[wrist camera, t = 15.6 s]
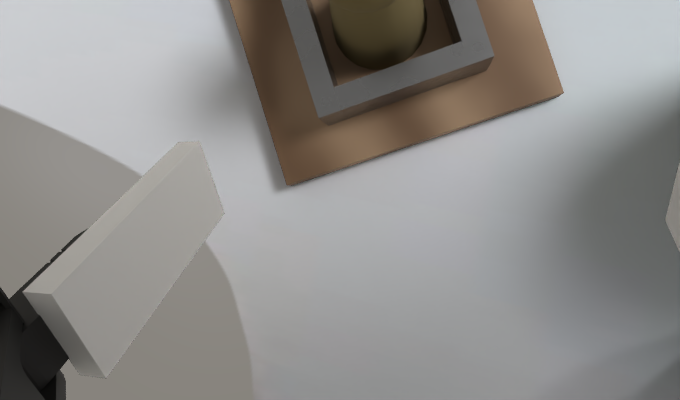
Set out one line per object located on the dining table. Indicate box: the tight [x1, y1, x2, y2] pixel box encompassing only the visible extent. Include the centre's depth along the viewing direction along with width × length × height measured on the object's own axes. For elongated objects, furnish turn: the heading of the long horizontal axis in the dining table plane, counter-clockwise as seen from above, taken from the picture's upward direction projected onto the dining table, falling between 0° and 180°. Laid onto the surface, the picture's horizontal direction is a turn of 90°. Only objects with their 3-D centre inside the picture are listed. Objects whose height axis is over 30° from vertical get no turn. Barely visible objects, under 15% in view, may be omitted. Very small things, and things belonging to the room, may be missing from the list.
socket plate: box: [229, 0, 564, 186], centre depth 31 cm, size 18×16×4 cm
